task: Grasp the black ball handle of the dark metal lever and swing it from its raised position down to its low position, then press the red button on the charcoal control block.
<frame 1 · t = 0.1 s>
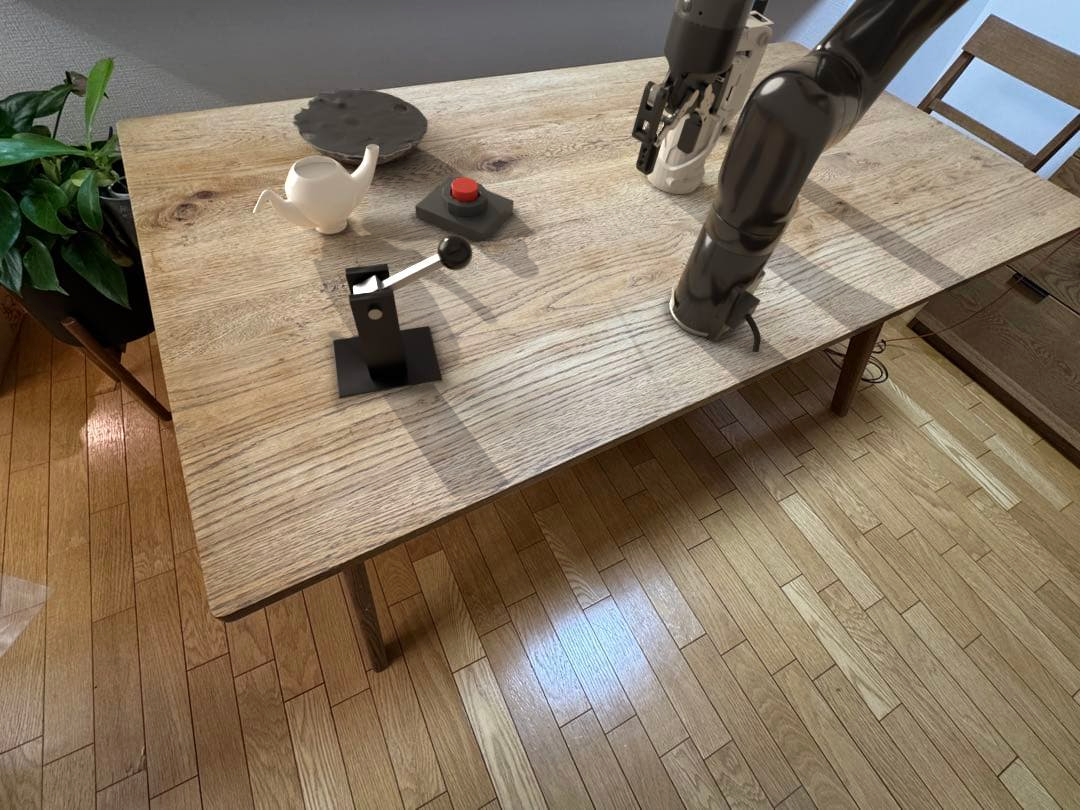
hand: (664, 160, 66), 17 cm above the table, tool pointing down, fingers open, 8 cm apart
wine bottle: (710, 126, 108), on the table
lever: (414, 273, 54), point 14 cm above the table, hinge at 25.0°
bracket: (387, 365, 64), on the table
control block: (465, 215, 83), on the table
board: (367, 149, 91), on the table
button: (465, 190, 79), point 4 cm above the table, slide at 0.1 cm
teapot: (331, 225, 78), on the table
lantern: (677, 178, 96), on the table
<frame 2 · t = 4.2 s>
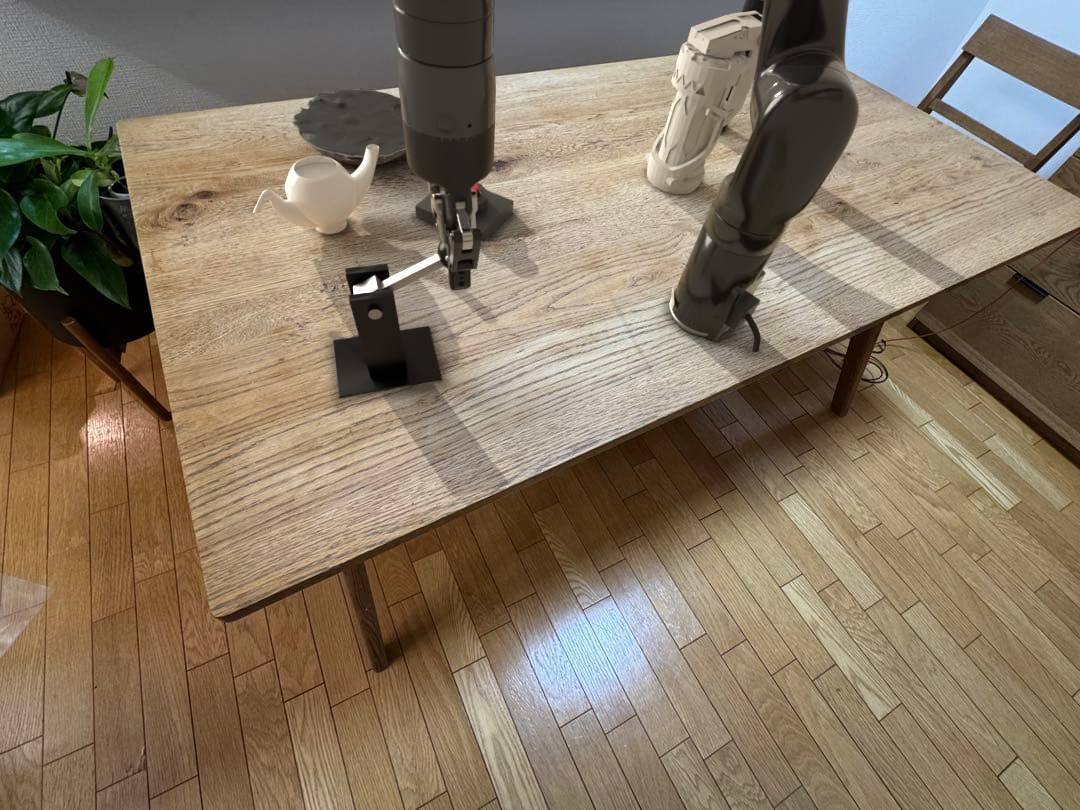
hand: (455, 273, 56), 13 cm above the table, tool pointing down, fingers closed on lever, 3 cm apart
lever: (414, 273, 54), point 14 cm above the table, hinge at 25.0°, touching gripper
everything else where it was.
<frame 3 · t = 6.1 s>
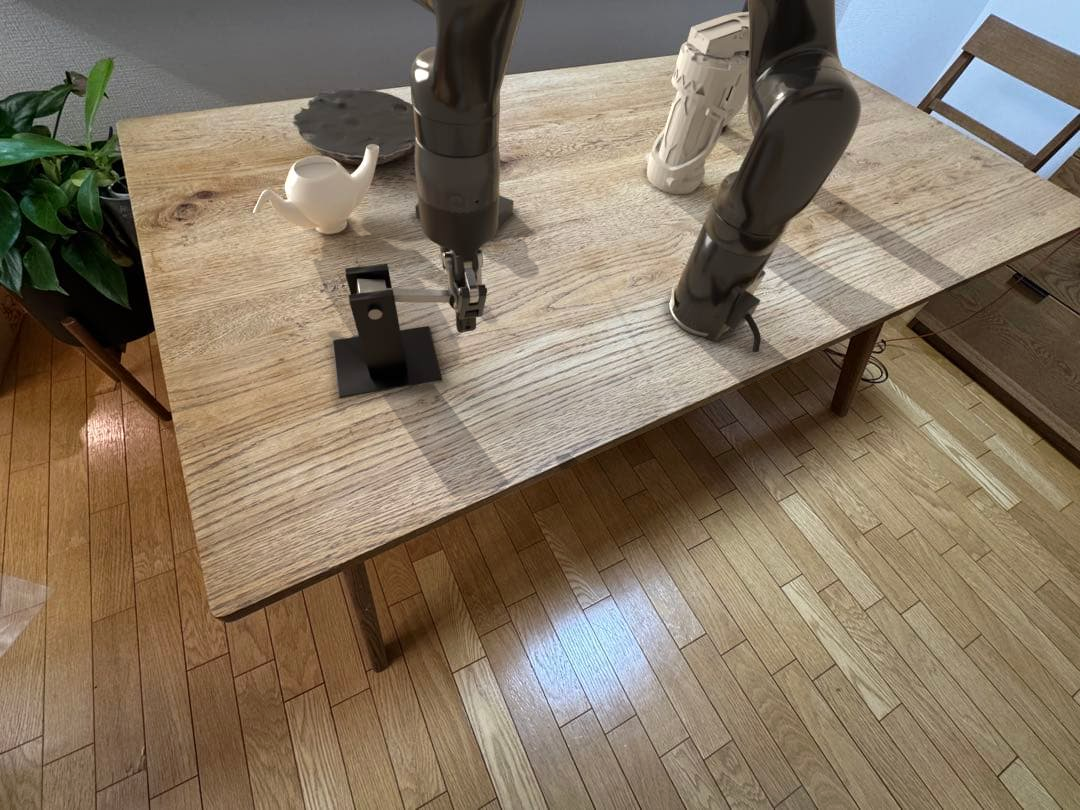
hand: (462, 315, 61), 7 cm above the table, tool pointing down, fingers closed on lever, 3 cm apart
lever: (420, 295, 57), point 11 cm above the table, hinge at -12.0°, touching gripper
everything else where it was.
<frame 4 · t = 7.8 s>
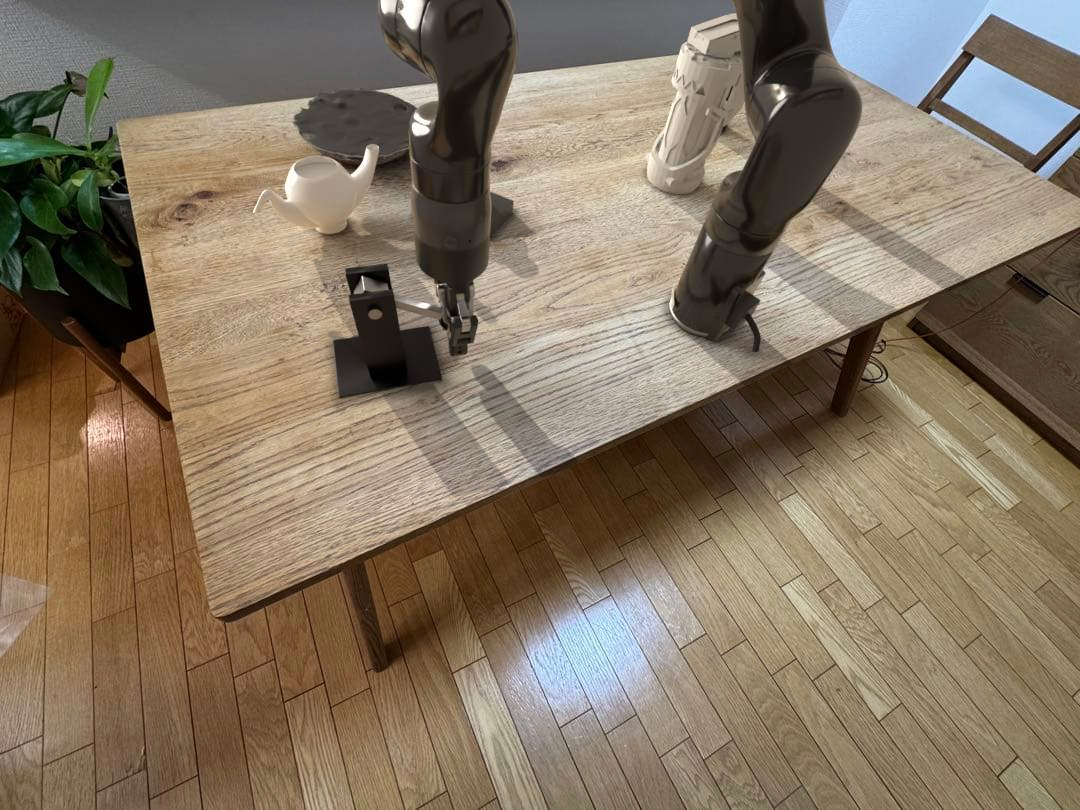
hand: (454, 339, 64), 3 cm above the table, tool pointing down, fingers open, 3 cm apart
lever: (416, 307, 58), point 9 cm above the table, hinge at -31.1°
everything else where it was.
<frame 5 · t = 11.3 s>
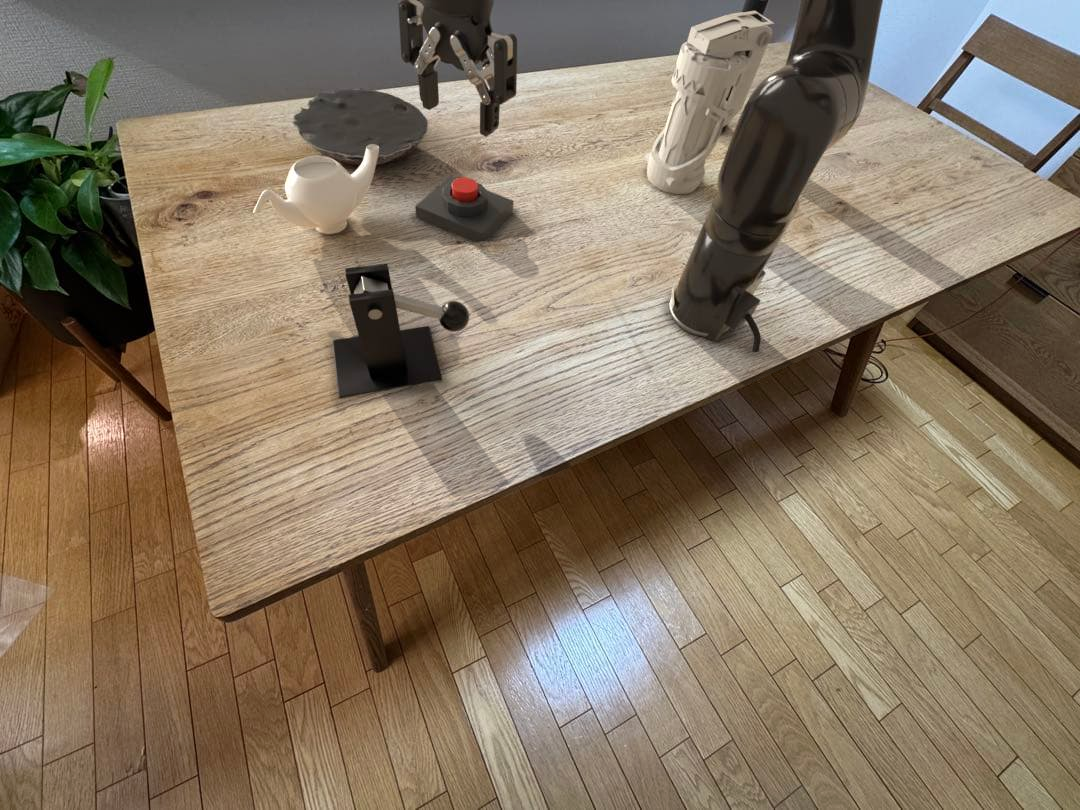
hand: (458, 119, 61), 20 cm above the table, tool pointing down, fingers open, 8 cm apart
lever: (416, 306, 58), point 9 cm above the table, hinge at -30.5°
everything else where it was.
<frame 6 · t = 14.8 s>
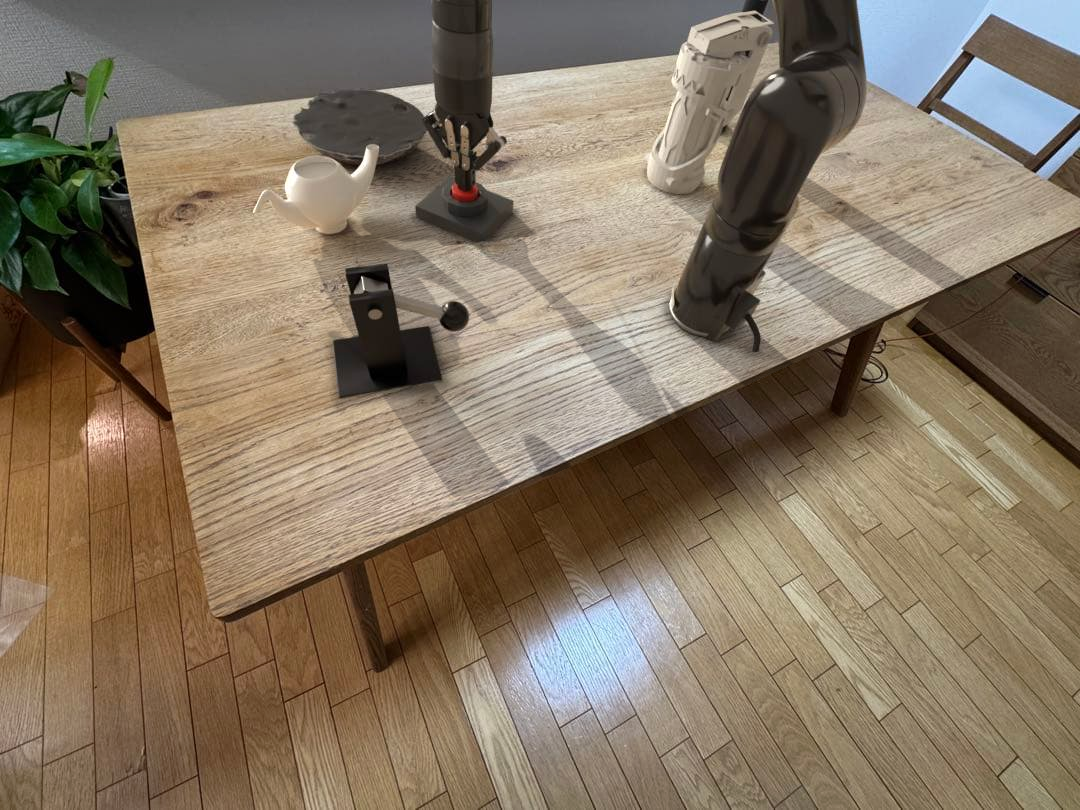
hand: (465, 187, 79), 5 cm above the table, tool pointing down, fingers closed
button: (465, 193, 80), point 4 cm above the table, slide at -0.5 cm, touching gripper
everything else where it was.
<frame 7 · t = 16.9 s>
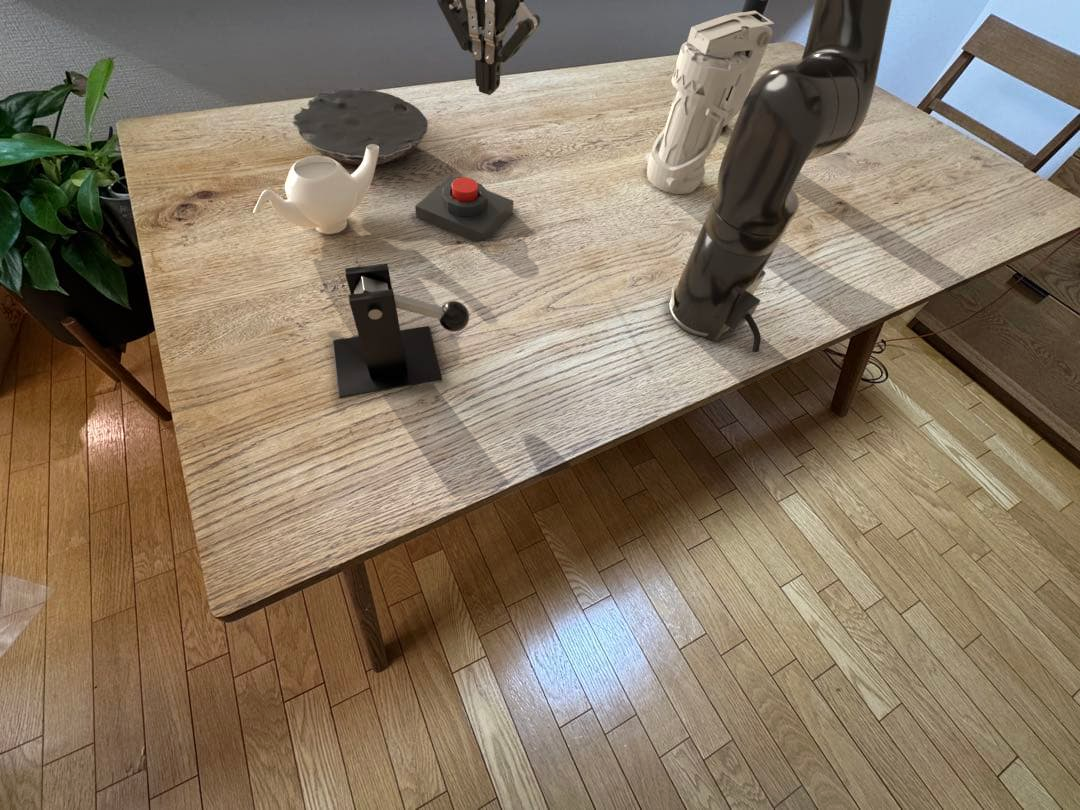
hand: (487, 91, 67), 19 cm above the table, tool pointing down, fingers closed
button: (465, 190, 79), point 4 cm above the table, slide at 0.1 cm
everything else where it was.
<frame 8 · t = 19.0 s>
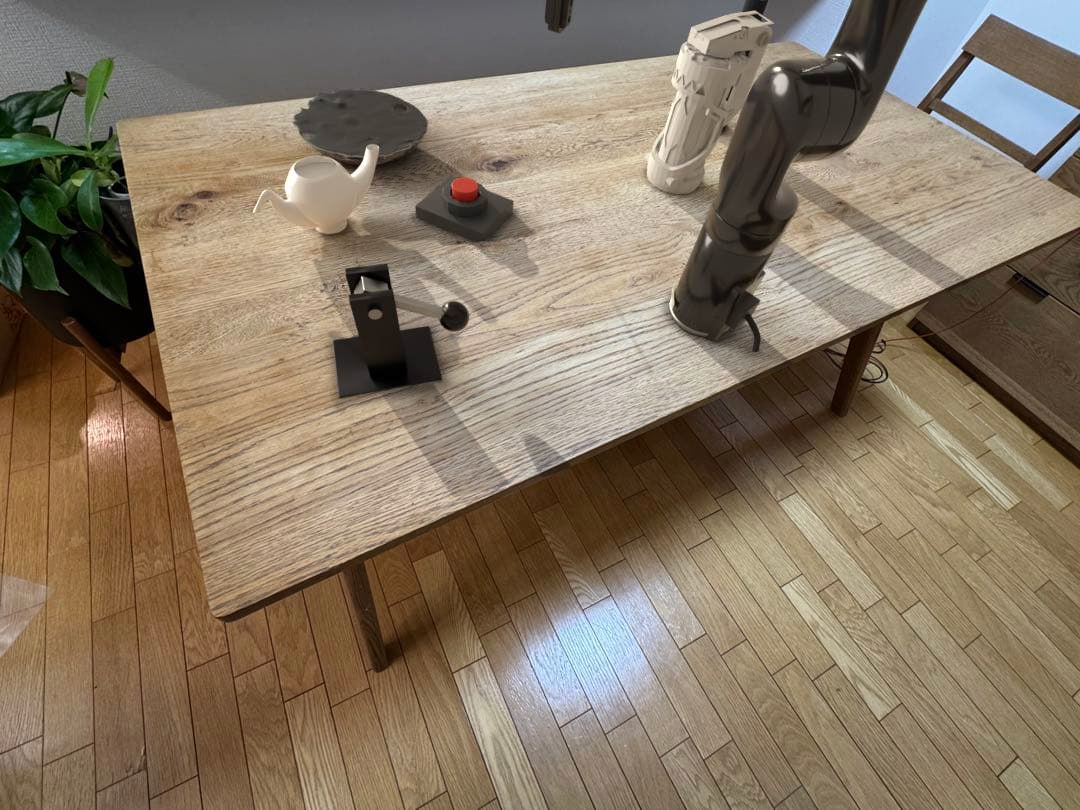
hand: (556, 29, 62), 27 cm above the table, tool pointing down, fingers closed
nothing on the table moved.
at the end: lever at -30° (first picture: +25°); button pushed in 1.1 cm at the most during the clip, back to where it started at the end; button slide at 0.1 cm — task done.
